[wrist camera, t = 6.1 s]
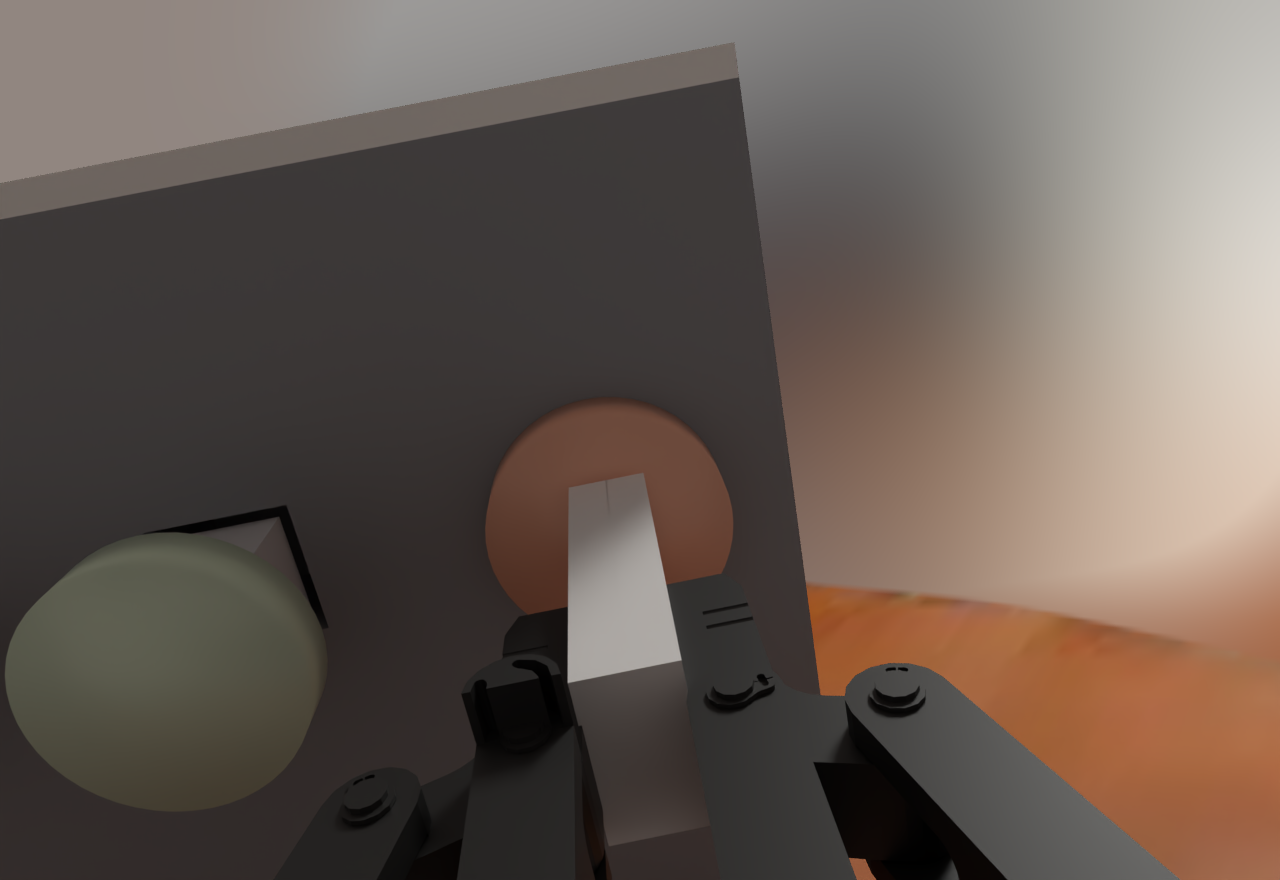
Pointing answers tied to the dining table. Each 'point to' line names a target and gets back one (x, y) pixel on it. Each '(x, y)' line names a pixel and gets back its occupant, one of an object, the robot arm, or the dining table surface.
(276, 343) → the control panel
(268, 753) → the sage button
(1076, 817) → the robot arm
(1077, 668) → the dining table surface
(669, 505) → the terracotta button
